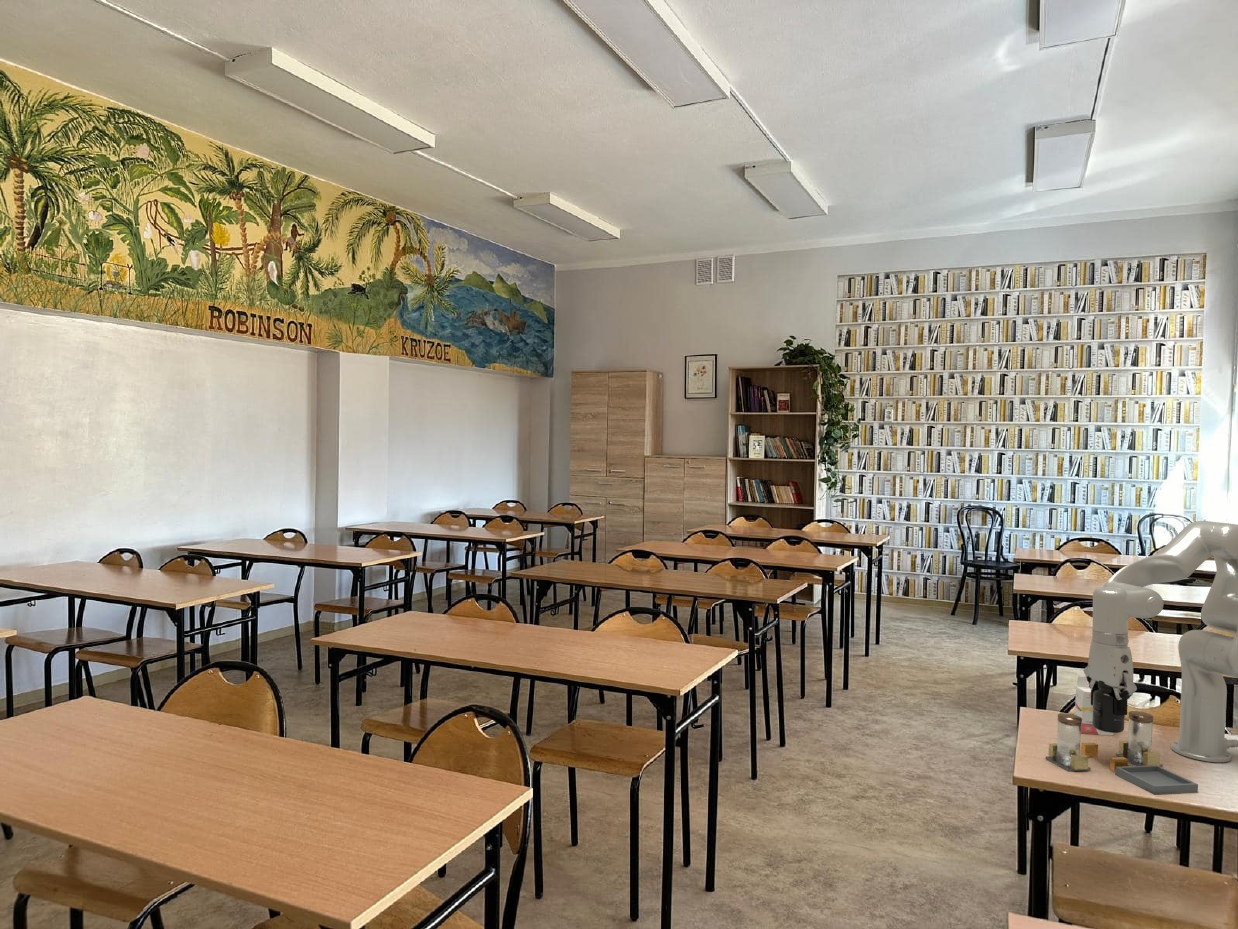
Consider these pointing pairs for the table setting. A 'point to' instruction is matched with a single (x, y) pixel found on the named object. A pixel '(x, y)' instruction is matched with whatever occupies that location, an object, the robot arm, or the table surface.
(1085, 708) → the ink cartridge box
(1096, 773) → the table surface
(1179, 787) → the tray
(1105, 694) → the supplement bottle
